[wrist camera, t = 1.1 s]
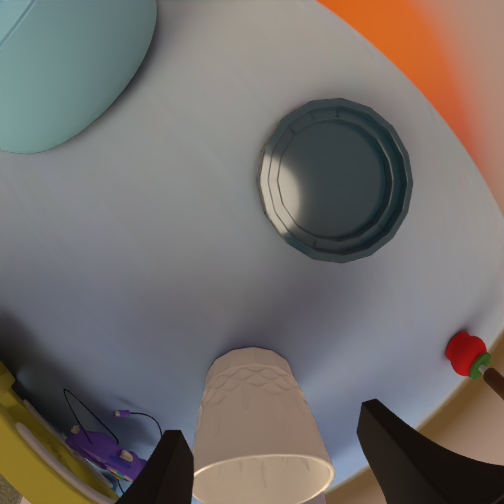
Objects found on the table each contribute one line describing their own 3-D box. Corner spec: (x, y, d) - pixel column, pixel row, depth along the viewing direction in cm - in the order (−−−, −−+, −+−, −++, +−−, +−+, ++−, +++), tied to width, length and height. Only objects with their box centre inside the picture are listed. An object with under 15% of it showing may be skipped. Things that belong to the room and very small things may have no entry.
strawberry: (471, 343, 22) (533, 398, 12) (445, 368, 23) (503, 431, 12) (467, 320, 21) (539, 377, 11) (439, 346, 22) (506, 414, 11)
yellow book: (-30, 370, 17) (-5, 347, 21) (91, 495, 20) (112, 473, 24) (-77, 378, 6) (-38, 340, 10) (139, 566, 9) (171, 533, 13)
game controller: (84, 476, 19) (31, 432, 15) (114, 425, 26) (74, 373, 22) (163, 514, 17) (117, 487, 12) (189, 452, 24) (160, 405, 19)
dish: (416, 201, 18) (432, 205, 16) (312, 281, 19) (320, 293, 17) (347, 82, 16) (359, 73, 14) (225, 159, 16) (224, 157, 15)
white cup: (267, 422, 22) (283, 516, 13) (183, 394, 21) (168, 498, 11) (318, 360, 21) (364, 460, 11) (226, 322, 19) (227, 438, 10)
